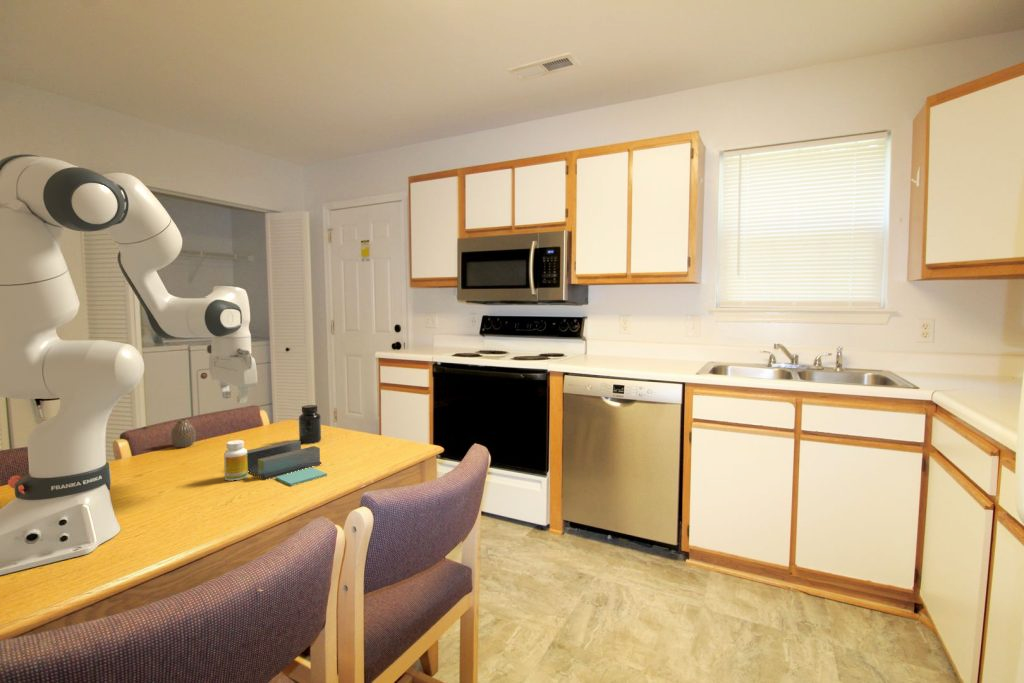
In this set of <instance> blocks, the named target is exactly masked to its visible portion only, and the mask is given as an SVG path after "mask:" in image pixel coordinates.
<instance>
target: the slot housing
mask: <svg viewBox="0 0 1024 683" xmlns="http://www.w3.org/2000/svg"><path fill="white" fill-rule="evenodd" d="M246 450H247V461H248V471H249V472H248V473H250V472H251V473H250V474H252V473H253V474H252V475H254V474H255V475H254V476H256V475H257V476H256V477H258V476H259V478H260V477H261V479H262V478H263V480H264V479H265V480H266V479H267V480H270V479H274V478H276V477H277V476H281V475H284V474H287V473H291V472H295V471H298V470H302V469H305V468H309V467H312V466H315V467H317V466H316V465H319V466H321V465H322V461H321V453H320V451H321V449H320V447H319V446H315V445H313V446H309V447H304V448H302V443H301V441H299V440H297V439H294V440H289V441H284V442H280V443H275V444H269V445H266V446H261V447H257V448H251V449H246ZM320 464H321V465H320ZM312 468H313V467H312ZM273 477H274V478H273ZM269 478H270V479H269ZM265 480H264V481H265ZM267 480H266V481H267Z"/></svg>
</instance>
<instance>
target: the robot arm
mask: <svg viewBox="0 0 1024 683" xmlns="http://www.w3.org/2000/svg"><path fill="white" fill-rule="evenodd" d="M64 228H66V229H69V230H71V231H76V232H86V233H87V232H98V231H103V230H105V232H106V233H107V234H108V235H109V237H110V239H111V240H112V241H113V242H114V244H115V245H116V247H117V248H118V250H119V251H118V254H117V263H118V266H119V268H120V270H121V272H122V274H123V277H124V278H125V280H126V281H127V282H128V285H129V286H130V288H131V289H132V291H133V293H134V295H135V296H136V298H137V299H138V301H139V302H140V304H141V306H142V307H143V310H144V312H145V314H146V317H147V320H148V323H149V325H150V327H151V329H152V330H153V332H155V333H156V335H158V336H159V337H161V338H163V339H166V340H174V339H175V340H176V339H184V338H185V339H187V338H188V339H189V338H191V339H205V338H211V342H210V343H209V344H207V345H206V347H205V348H206V354H208V365H209V366H208V367H209V374H210V375H209V376H210V378H211V379H212V381H216V382H218V385H219V386H218V387H219V389H220V391H221V398H222V399H225V400H227V399H230V398H232V391H230V386H229V385H232V386H237V390H238V395H237V396H236V401H237V403H240V404H246V403H247V402H248V394H249V391H250V387H251V388H252V387H256V386H257V385H258V371H257V364H256V359H255V358H254V357H253V356H252V355H251V354H252V334H251V332H250V322H251V311H250V310H251V308H250V301H249V300H250V299H249V295H248V293H247V290H246V289H244V288H242V287H240V286H237V285H230V284H217V285H214V286H213V288H212V292H210V293H209V294H208V295H206V296H203V297H200V298H198V297H196V298H194V297H189V298H188V297H184V298H183V297H179V296H175V295H172V294H170V293H169V292H168V290H167V288H166V287H165V284H164V283H163V280H162V279H161V277H160V275H159V274H158V272H157V271H159V270H161V269H163V268H165V267H166V266H169V265H170V264H172V263H173V261H175V260H176V259H177V257H178V256H179V255H180V253H181V251H182V247H183V236H182V233H181V231H180V229H179V228H178V227H177V225H176V223H175V222H174V220H173V219H172V217H171V215H170V214H169V213H168V211H167V210H166V208H165V207H164V206H163V205H162V203H161V202H160V201H159V200H158V198H157V197H156V196H155V194H153V193H152V191H150V189H149V188H148V187H147V186H146V185H145V184H144V183H143V182H142V181H141V180H140V179H138V178H137V177H136V176H134V175H133V174H130V173H126V172H111V173H105V174H100V173H98V172H96V171H94V170H92V169H89V168H85V167H80V166H77V165H74V164H72V163H69V162H68V161H64V160H61V159H58V158H53V157H43V156H40V155H35V154H27V153H26V154H24V153H23V154H14V155H10V156H6V157H4V158H2V159H0V398H1V397H2V398H6V399H7V398H9V399H15V400H16V399H17V400H25V399H26V400H33V399H35V400H36V399H37V400H38V399H59V408H58V410H57V413H56V414H55V415H54V416H52V417H50V418H48V419H45V420H43V421H42V422H40V423H38V424H37V425H35V427H34V428H32V430H31V431H30V432H29V434H28V436H27V440H26V444H27V445H26V446H27V457H28V458H27V459H28V473H27V474H26V475H25V476H24V477H22V476H21V475H12V476H11V477H10V478H9V479H8V480H7V483H8V485H9V487H10V488H13V490H14V496H15V497H14V498H13V499H12V500H10V501H9V502H8V503H7V504H5V505H4V506H3V507H0V576H3V575H6V574H7V575H8V574H10V573H15V572H19V571H22V570H26V569H30V568H34V567H39V566H43V565H48V564H52V563H57V562H60V561H63V560H67V559H73V558H75V557H79V556H80V557H81V556H83V555H89V554H90V553H91V552H93V551H95V550H96V549H97V548H98V546H99V545H101V544H103V543H105V542H107V541H109V540H110V539H112V538H114V537H115V536H116V535H118V533H120V531H121V525H120V523H119V522H118V520H117V519H118V518H117V517H116V514H115V511H114V507H113V504H112V499H111V494H110V490H111V485H112V478H111V477H112V474H111V467H110V464H109V462H107V453H106V452H107V450H106V448H107V447H106V446H107V445H106V444H107V443H106V442H107V440H106V439H107V426H108V421H109V418H110V416H111V414H112V411H113V410H114V408H115V406H116V405H117V404H118V403H119V401H121V399H122V398H123V397H125V396H126V395H127V394H128V393H130V392H131V391H133V390H134V389H135V388H137V386H138V385H139V384H140V382H141V381H142V378H143V376H144V375H145V374H144V373H145V363H144V362H145V361H144V358H143V356H142V355H141V352H139V350H138V349H137V348H136V347H135V346H134V345H132V344H129V343H125V342H124V343H123V342H119V341H112V340H106V339H105V340H104V339H80V340H79V339H75V340H74V339H70V340H69V339H61V337H59V336H58V333H57V329H58V328H60V327H63V326H64V325H66V324H68V323H69V322H71V321H72V320H73V319H74V318H75V317H76V316H77V314H78V312H79V309H80V305H81V303H80V300H79V297H78V294H77V291H76V288H75V285H74V283H73V280H72V277H71V275H70V274H71V273H70V270H69V269H68V265H67V262H66V260H65V258H64V257H65V256H64V255H63V253H62V250H61V249H62V247H61V239H62V238H61V236H62V233H63V231H64Z"/></svg>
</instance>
